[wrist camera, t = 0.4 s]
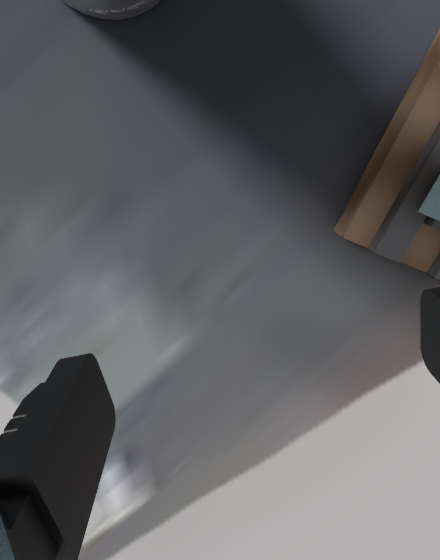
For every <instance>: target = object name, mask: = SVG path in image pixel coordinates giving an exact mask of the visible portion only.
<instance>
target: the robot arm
mask: <svg viewBox="0 0 440 560" xmlns="http://www.w3.org/2000/svg"><path fill="white" fill-rule="evenodd" d="M62 1H63V2H65V3H66V4H67V5H68V6H70V7H72V8H74V9H76V10H78V11H80V12H81V13H83V14H85V15H89V16H92V17H96V18H100V19H108V20H122V19H126V18H131V17H136V16H138V15H140V14H142V13H144V12H146V11H148V10H150V9H152V8H153V7H154V6H155V5H156V4H158V3H159V2H160V1H161V0H62ZM421 352H422V356H423V360H424V362H425V365H426V367H427V368H428V370H429V371H430V373H431V374H432V375H433V376H434V377H435V379H436V380H437V381H438V382H439V383H440V287H438V288H432V289H427V290H424V291H423V293H422V295H421ZM114 429H115V409H114V405H113V402H112V399H111V396H110V394H109V391H108V388H107V386H106V383H105V380H104V378H103V375H102V372H101V370H100V367H99V364H98V362H97V360H96V358H95V356H94V355H93V354H91V353H89V354H84V355H79V356H73V357H68V358H63V359H60V360H58V362H57V363H56V365H55V367H54V368H53V370H52V372H51V373H50V375H49V377H48V378H47V380H46V382H45V383H40V384H39V385H38V386H37V387H36V388H35V389H34V390H33V391H32V392H31V393H29V394H28V395H27V396H26V397H25V398H24V399H23V400H22V402H21V404H20V405H19V407H18V408H17V410H16V412H15V413H14V415H13V419H11V420H10V421H9V423H8V424H7V426H6V427H5V429H4V434H1V436H0V560H78V556H79V553H80V549H81V546H82V542H83V538H84V535H85V531H86V528H87V524H88V521H89V517H90V514H91V510H92V506H93V503H94V500H95V496H96V493H97V489H98V485H99V482H100V478H101V475H102V471H103V468H104V464H105V461H106V457H107V454H108V450H109V447H110V443H111V440H112V436H113V433H114Z"/></svg>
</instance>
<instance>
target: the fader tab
mask: <svg viewBox="0 0 440 560" xmlns="http://www.w3.org/2000/svg"><path fill="white" fill-rule="evenodd" d="M418 212H420V213H422V214H424V215H427V217H426V219H425V220H424V222H423V223H424V224H427V225H429V226H431V227H433V228H435V229H438V230H440V175H439V177H438V178H437V180H436V182H435V183H434V185H433V187H432V188H431V190H430V192H429V194H428V195H427V197H426V199H425V200H424V202H423V204H422V205H421V207H420V209H419V210H418Z"/></svg>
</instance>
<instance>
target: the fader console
mask: <svg viewBox="0 0 440 560" xmlns="http://www.w3.org/2000/svg"><path fill="white" fill-rule="evenodd" d="M439 175H440V29H439V31H438V33H437V35H436V37H435V38H434V40H433V42H432V44H431V46H430V48H429V50H428V52H427V54H426V55H425V57H424V59H423V61H422V63H421V65H420V67H419V69H418V71H417V72H416V74H415V76H414V78H413V80H412V82H411V84H410V86H409V88H408V90H407V91H406V93H405V95H404V97H403V99H402V101H401V103H400V105H399V107H398V108H397V110H396V112H395V114H394V116H393V118H392V120H391V122H390V124H389V126H388V127H387V129H386V131H385V133H384V135H383V137H382V139H381V141H380V143H379V144H378V146H377V148H376V150H375V152H374V154H373V156H372V158H371V160H370V161H369V163H368V165H367V167H366V169H365V171H364V173H363V175H362V177H361V179H360V180H359V182H358V184H357V186H356V188H355V190H354V192H353V194H352V196H351V197H350V199H349V201H348V203H347V205H346V207H345V209H344V211H343V213H342V215H341V216H340V218H339V220H338V222H337V224H336V226H335V228H334V230H333V231H335V232H336V233H337V234H338V235H340V236H341V237H342V238H344V239H347V240H349V241H351V242H354V243H356V244H359V245H361V246H363V247H366V248H368V249H369V250H371V251H372V252H373V253H376V254H378V255H380V256H383V257H385V258H388V259H390V260H392V261H395V262H397V263H399V262H402V263H404V264H406V265H409V266H411V267H414V268H416V269H418V270H421V271H423V272H426V273H427V274H429V275H430V276H432V277H434V278H436V279H438V280H440V230H438V229H435V228H433V227H431V226H429V225H427V224H424V223H423V222H424V220H425V219H426V217H427V215H424V214H422V213H420V212H418V210H419V209H420V207H421V205H422V204H423V202H424V200H425V199H426V197H427V195H428V194H429V192H430V190H431V188H432V187H433V185H434V183H435V182H436V180H437V178H438V177H439Z"/></svg>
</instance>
